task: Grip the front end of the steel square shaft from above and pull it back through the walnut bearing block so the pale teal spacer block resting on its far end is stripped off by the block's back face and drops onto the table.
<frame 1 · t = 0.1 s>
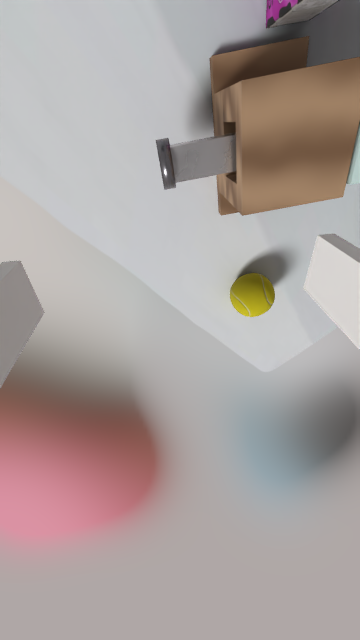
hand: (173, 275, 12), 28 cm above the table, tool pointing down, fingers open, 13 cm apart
tennis ball: (245, 284, 45), on the table
bearing block: (254, 139, 32), on the table
shaft: (263, 146, 26), point 8 cm above the table, slide at 0.0 cm, touching spacer
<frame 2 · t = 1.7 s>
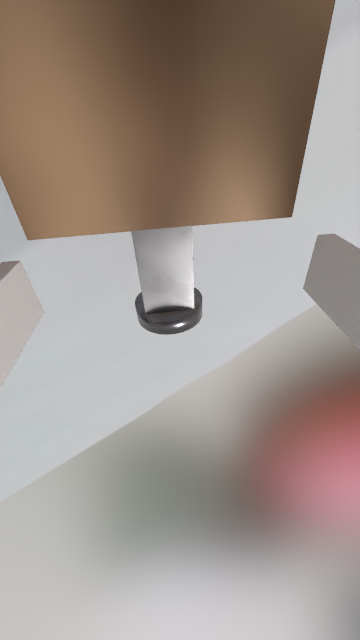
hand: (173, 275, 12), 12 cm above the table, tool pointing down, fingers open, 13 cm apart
bearing block: (146, 89, 17), on the table
shaft: (150, 117, 11), point 8 cm above the table, slide at 0.0 cm, touching spacer
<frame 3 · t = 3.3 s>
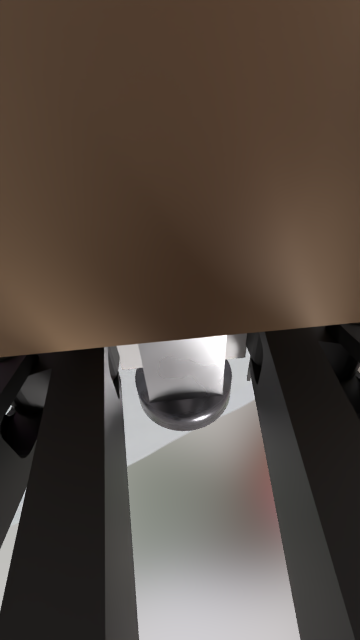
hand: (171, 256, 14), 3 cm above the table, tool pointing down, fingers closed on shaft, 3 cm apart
bearing block: (154, 70, 11), on the table
shaft: (164, 107, 6), point 8 cm above the table, slide at 0.0 cm, touching gripper, spacer
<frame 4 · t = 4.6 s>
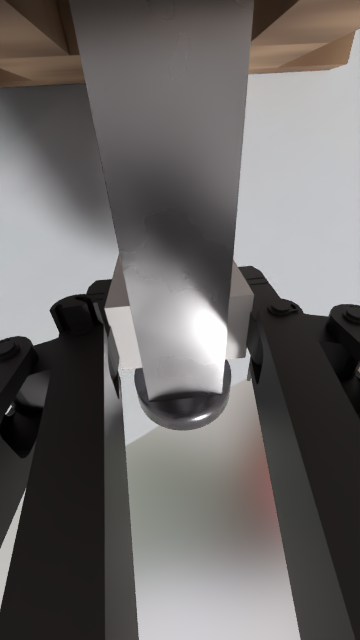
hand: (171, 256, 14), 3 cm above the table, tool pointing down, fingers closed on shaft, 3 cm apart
shaft: (165, 103, 6), point 8 cm above the table, slide at 4.7 cm, touching gripper
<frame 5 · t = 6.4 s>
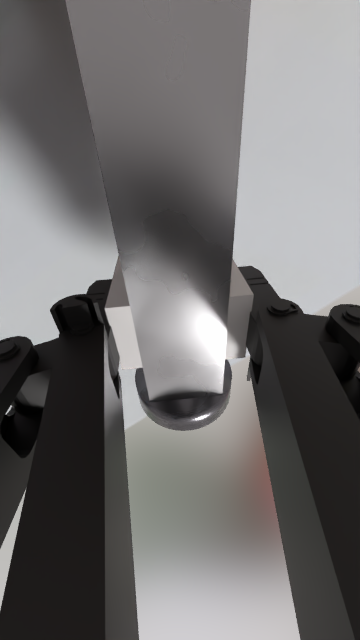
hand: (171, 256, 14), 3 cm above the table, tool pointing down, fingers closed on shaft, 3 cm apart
shaft: (163, 104, 6), point 8 cm above the table, slide at 7.9 cm, touching gripper
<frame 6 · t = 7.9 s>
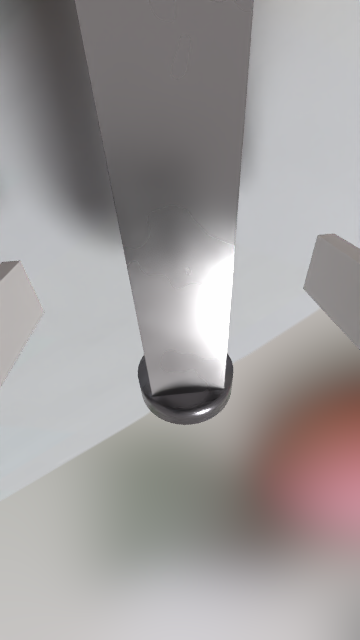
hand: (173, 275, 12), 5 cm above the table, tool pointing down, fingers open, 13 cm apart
shaft: (168, 102, 6), point 8 cm above the table, slide at 7.9 cm
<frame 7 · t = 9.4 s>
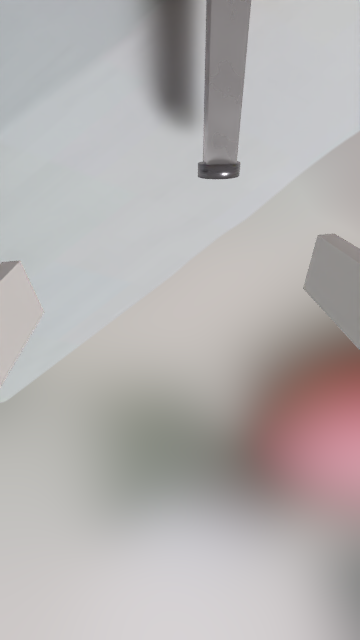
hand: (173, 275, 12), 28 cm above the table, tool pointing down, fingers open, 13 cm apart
shaft: (226, 30, 21), point 8 cm above the table, slide at 7.9 cm
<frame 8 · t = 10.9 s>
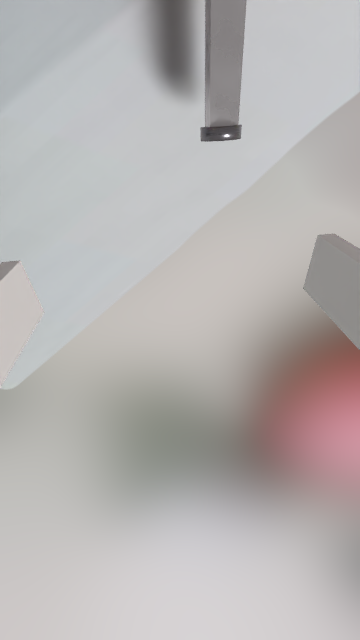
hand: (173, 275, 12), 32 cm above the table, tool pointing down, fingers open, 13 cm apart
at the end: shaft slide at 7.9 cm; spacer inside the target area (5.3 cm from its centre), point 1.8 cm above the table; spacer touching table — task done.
